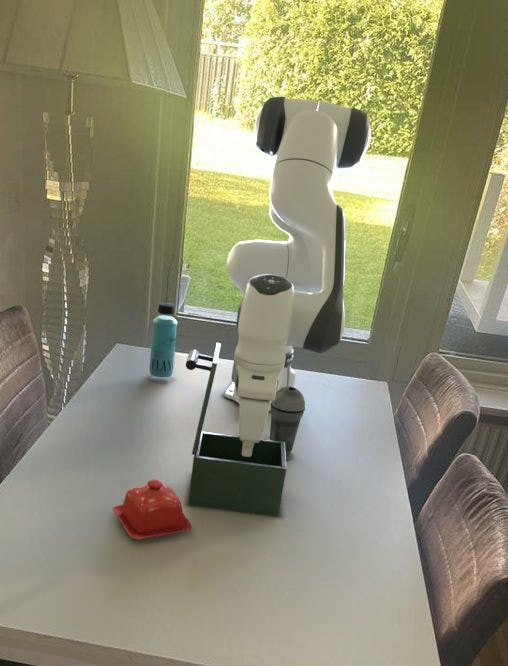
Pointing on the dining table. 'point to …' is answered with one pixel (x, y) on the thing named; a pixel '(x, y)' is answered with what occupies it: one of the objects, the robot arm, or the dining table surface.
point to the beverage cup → (286, 415)
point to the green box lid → (192, 365)
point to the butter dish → (152, 511)
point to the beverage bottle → (163, 342)
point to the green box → (238, 474)
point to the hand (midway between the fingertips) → (246, 443)
